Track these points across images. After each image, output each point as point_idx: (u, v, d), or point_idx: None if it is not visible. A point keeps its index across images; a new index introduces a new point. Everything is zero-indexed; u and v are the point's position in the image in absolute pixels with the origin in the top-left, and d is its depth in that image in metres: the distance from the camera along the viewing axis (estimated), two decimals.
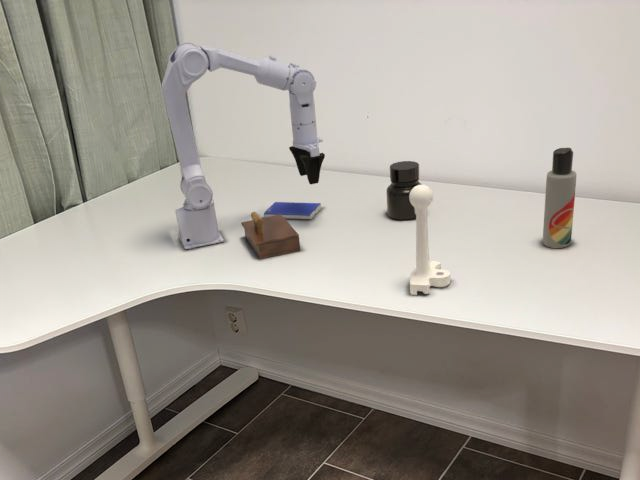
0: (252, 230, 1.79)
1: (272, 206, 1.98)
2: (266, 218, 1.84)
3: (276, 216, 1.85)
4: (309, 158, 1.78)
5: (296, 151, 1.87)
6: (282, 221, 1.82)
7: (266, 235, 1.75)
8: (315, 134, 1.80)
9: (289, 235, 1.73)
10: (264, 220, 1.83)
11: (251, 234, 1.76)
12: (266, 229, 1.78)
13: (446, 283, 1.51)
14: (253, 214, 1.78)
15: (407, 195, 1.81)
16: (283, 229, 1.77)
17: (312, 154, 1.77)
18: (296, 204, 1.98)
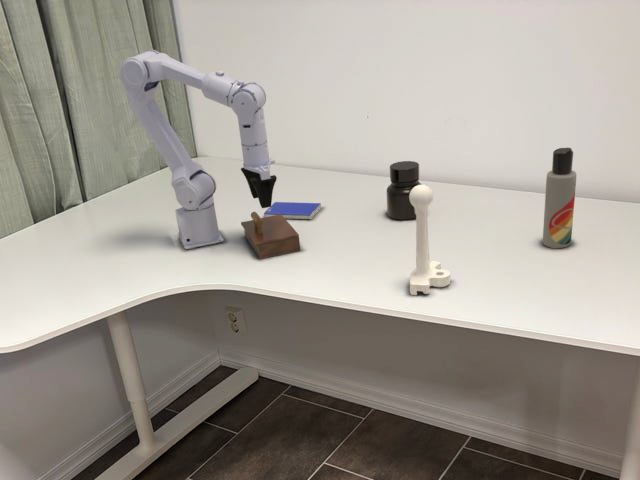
0: (252, 230, 1.79)
1: (272, 206, 1.98)
2: (266, 218, 1.84)
3: (276, 216, 1.85)
4: (260, 181, 1.68)
5: (248, 173, 1.77)
6: (282, 221, 1.82)
7: (266, 235, 1.75)
8: (266, 155, 1.70)
9: (289, 235, 1.73)
10: (264, 220, 1.83)
11: (251, 234, 1.76)
12: (266, 229, 1.78)
13: (446, 283, 1.51)
14: (253, 214, 1.78)
15: (407, 195, 1.81)
16: (283, 229, 1.77)
17: (262, 177, 1.67)
18: (296, 204, 1.98)
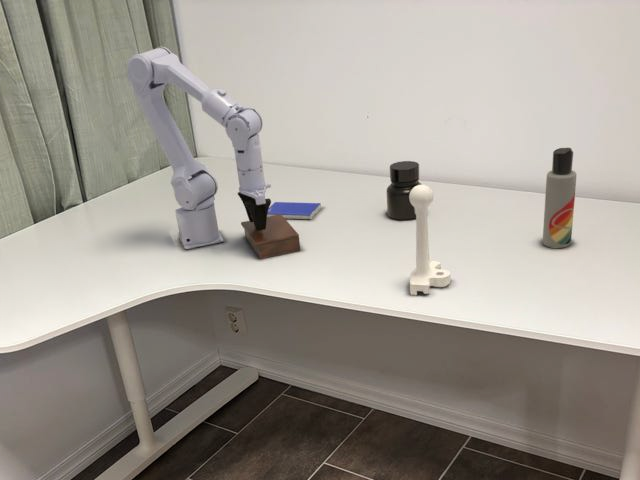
0: (252, 230, 1.79)
1: (272, 206, 1.98)
2: None
3: (276, 216, 1.85)
4: (254, 205, 1.70)
5: (245, 197, 1.77)
6: (282, 221, 1.82)
7: (266, 235, 1.75)
8: (262, 180, 1.71)
9: (289, 235, 1.73)
10: None
11: (251, 234, 1.76)
12: (266, 229, 1.78)
13: (446, 283, 1.51)
14: None
15: (407, 195, 1.81)
16: (283, 229, 1.77)
17: (258, 202, 1.67)
18: (296, 204, 1.98)
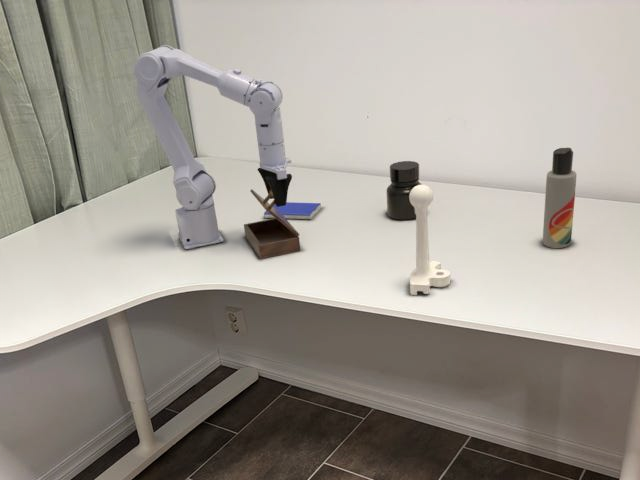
0: (262, 200, 1.76)
1: None
2: None
3: (278, 211, 1.84)
4: (275, 179, 1.68)
5: (265, 173, 1.76)
6: (284, 218, 1.81)
7: (274, 212, 1.73)
8: (283, 155, 1.70)
9: (292, 228, 1.73)
10: (270, 205, 1.82)
11: (262, 201, 1.74)
12: (273, 210, 1.76)
13: (446, 283, 1.51)
14: None
15: (407, 195, 1.81)
16: (286, 222, 1.76)
17: (279, 176, 1.66)
18: (296, 204, 1.98)
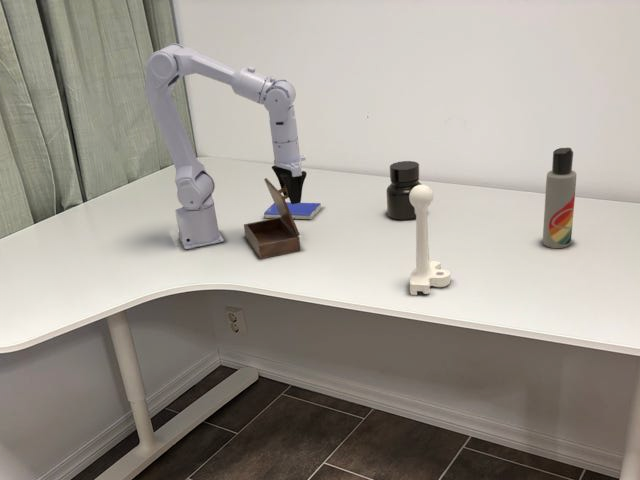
0: None
1: (272, 206, 1.98)
2: None
3: None
4: (290, 177, 1.69)
5: (279, 171, 1.76)
6: None
7: None
8: (297, 152, 1.70)
9: None
10: None
11: (277, 190, 1.73)
12: None
13: (446, 283, 1.51)
14: None
15: (407, 195, 1.81)
16: None
17: (294, 174, 1.67)
18: (296, 204, 1.98)
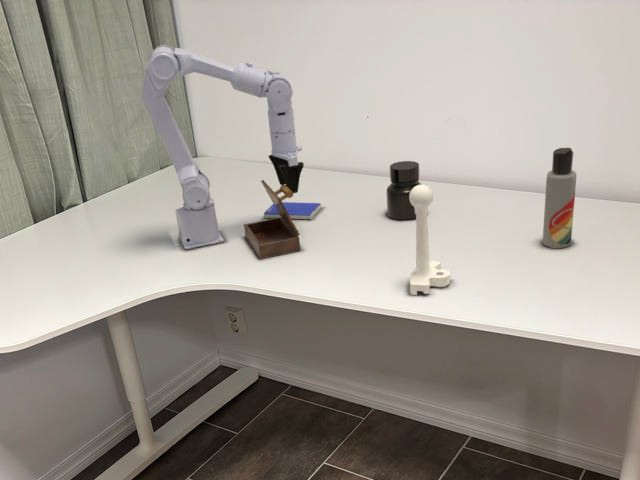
0: None
1: (272, 206, 1.98)
2: None
3: None
4: (287, 167, 1.74)
5: (276, 160, 1.83)
6: None
7: None
8: (294, 143, 1.76)
9: None
10: None
11: (273, 192, 1.73)
12: None
13: (446, 283, 1.51)
14: (286, 186, 1.77)
15: (407, 195, 1.81)
16: None
17: (290, 163, 1.73)
18: (296, 204, 1.98)
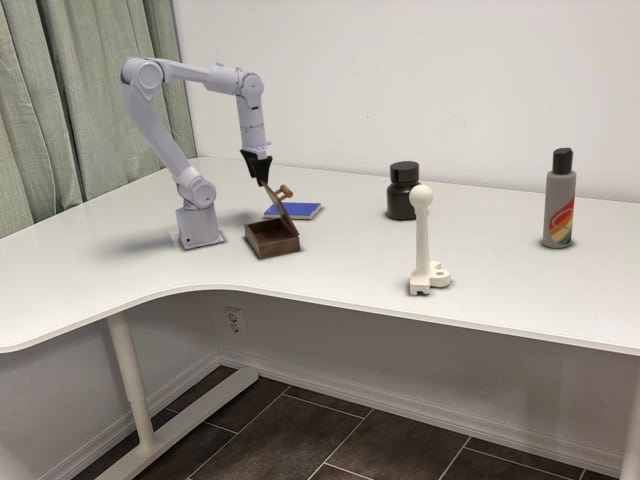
0: None
1: (272, 206, 1.98)
2: None
3: None
4: (257, 161, 1.80)
5: (246, 154, 1.89)
6: None
7: None
8: (263, 137, 1.82)
9: None
10: None
11: (273, 192, 1.73)
12: None
13: (446, 283, 1.51)
14: (286, 186, 1.77)
15: (407, 195, 1.81)
16: None
17: (259, 157, 1.78)
18: (296, 204, 1.98)
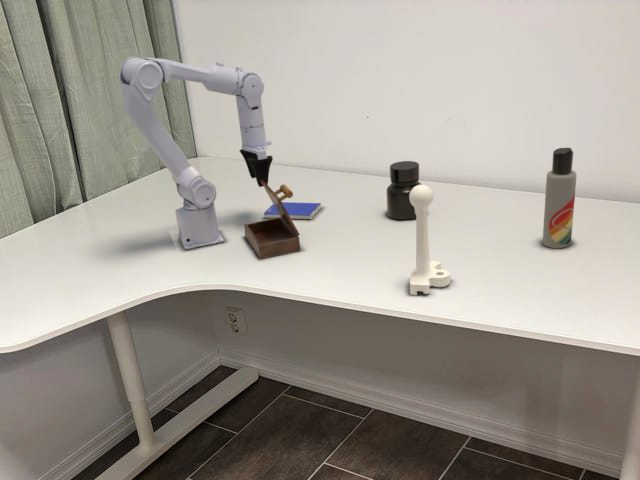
0: None
1: (272, 206, 1.98)
2: None
3: None
4: (257, 161, 1.80)
5: (246, 154, 1.89)
6: None
7: None
8: (263, 137, 1.82)
9: None
10: None
11: (273, 192, 1.73)
12: None
13: (446, 283, 1.51)
14: (286, 186, 1.77)
15: (407, 195, 1.81)
16: None
17: (259, 157, 1.78)
18: (296, 204, 1.98)
